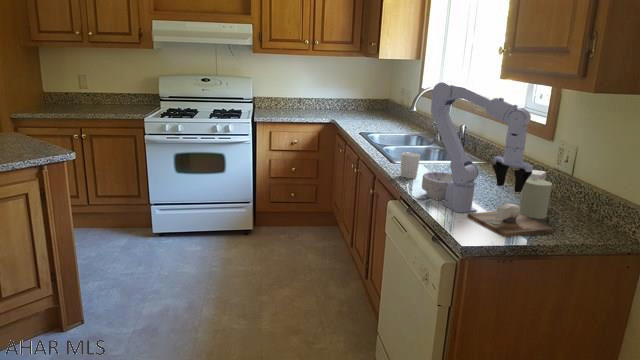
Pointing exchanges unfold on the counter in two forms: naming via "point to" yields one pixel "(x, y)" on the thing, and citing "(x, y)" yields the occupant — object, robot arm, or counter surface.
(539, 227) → the post board
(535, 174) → the ink box
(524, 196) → the can
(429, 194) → the paper bowls
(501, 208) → the white block
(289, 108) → the counter surface
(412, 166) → the white cup
